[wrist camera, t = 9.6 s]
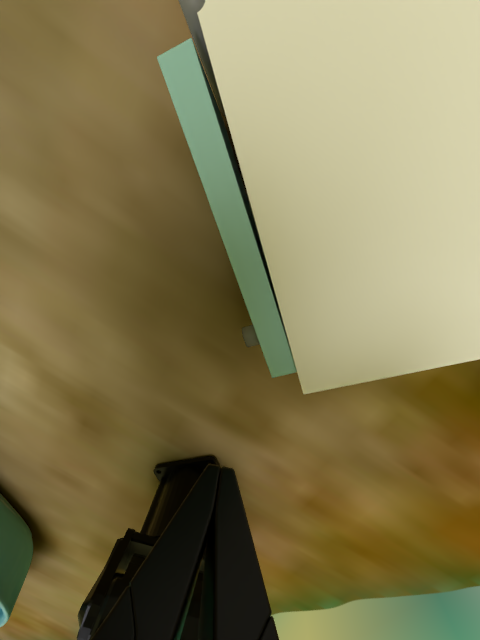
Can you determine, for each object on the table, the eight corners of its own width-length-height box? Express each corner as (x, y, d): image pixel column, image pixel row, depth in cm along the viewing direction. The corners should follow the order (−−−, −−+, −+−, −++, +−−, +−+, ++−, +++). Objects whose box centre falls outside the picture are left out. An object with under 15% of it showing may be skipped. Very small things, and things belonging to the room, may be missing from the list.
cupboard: (282, 330, 19) (294, 396, 12) (218, 102, 14) (173, -19, 7) (418, 295, 17) (530, 348, 10) (397, 22, 12) (581, -248, 5)
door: (184, 138, 14) (124, 75, 8) (223, 120, 14) (191, 37, 8) (253, 328, 18) (248, 383, 12) (285, 319, 18) (297, 371, 12)
